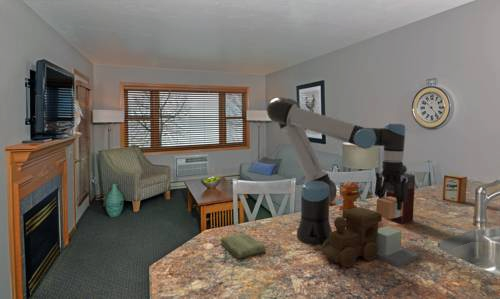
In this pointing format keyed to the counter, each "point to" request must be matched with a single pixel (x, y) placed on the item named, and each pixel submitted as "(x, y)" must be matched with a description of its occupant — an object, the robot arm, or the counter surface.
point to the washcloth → (242, 245)
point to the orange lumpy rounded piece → (349, 195)
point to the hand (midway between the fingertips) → (389, 214)
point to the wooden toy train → (353, 236)
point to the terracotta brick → (387, 207)
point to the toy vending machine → (409, 204)
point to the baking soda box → (454, 188)
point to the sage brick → (388, 240)
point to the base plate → (399, 257)
